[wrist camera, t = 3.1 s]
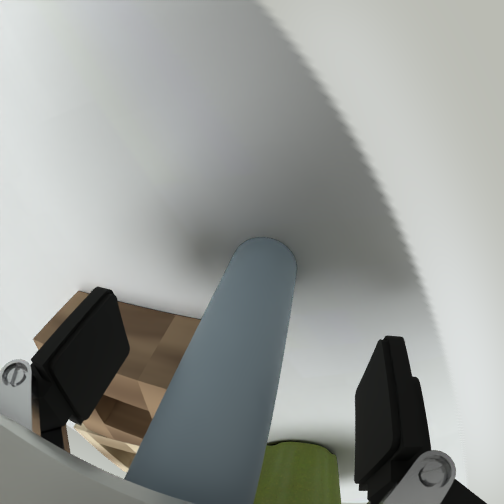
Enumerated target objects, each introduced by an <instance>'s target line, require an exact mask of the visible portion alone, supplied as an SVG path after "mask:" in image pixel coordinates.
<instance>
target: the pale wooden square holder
mask: <svg viewBox="0 0 504 504" xmlns="http://www.w3.org/2000/svg"><path fill="white" fill-rule="evenodd" d="M74 429H75V430H77V431H78V432H79V433H80V434H81V435H82V436H83V437H84V438H85V439H86V440H87V441H88V442H89V443H91V444H92V445H93V446H94V447H95V448H96V449H97V450H98V451H100V452H101V453H102V454H103V455H104V456H105V457H107V458H108V459H109V460H110V461H111V462H113V463H114V464H115V465H116V466H118V467H119V468H120V469H122V470H123V471H125V472H128V470H129V468H130V465H131V463H132V461H133V459H134V457H135V455H136V453H137V451H138V449H139V446H137V445H133V444H129V443H125V442H121V441H117V440H113V439H110V438H107V437H105V436H103V435H100V434H98V433H96V432H94V431H92V430H89V429H87V428H86V427H85V425H84V424H83V423H82V425H81V426H80V425H78V424H75V426H74Z"/></svg>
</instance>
